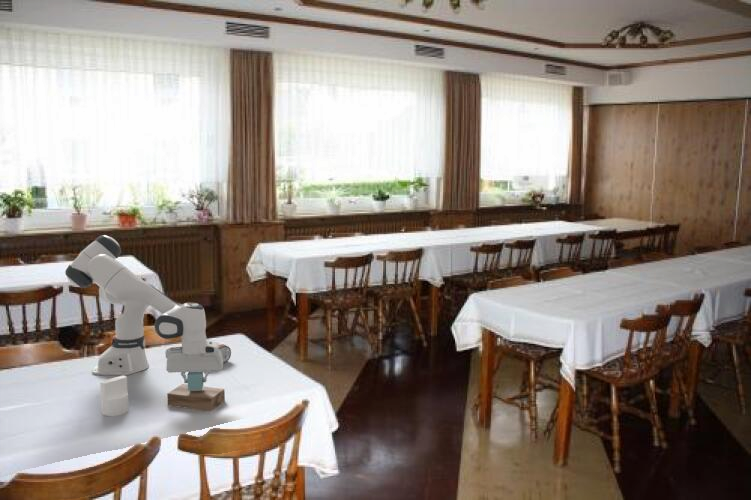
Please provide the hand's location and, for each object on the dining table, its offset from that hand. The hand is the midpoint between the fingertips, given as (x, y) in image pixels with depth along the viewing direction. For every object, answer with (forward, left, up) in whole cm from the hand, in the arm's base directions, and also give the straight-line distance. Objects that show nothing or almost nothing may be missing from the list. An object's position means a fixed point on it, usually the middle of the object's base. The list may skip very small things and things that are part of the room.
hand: (195, 382), depth 234 cm
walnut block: (0, 0, -8) cm, 9 cm away
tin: (+3, +43, -8) cm, 44 cm away
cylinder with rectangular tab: (-28, -4, -8) cm, 29 cm away
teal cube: (0, 0, -2) cm, 2 cm away
